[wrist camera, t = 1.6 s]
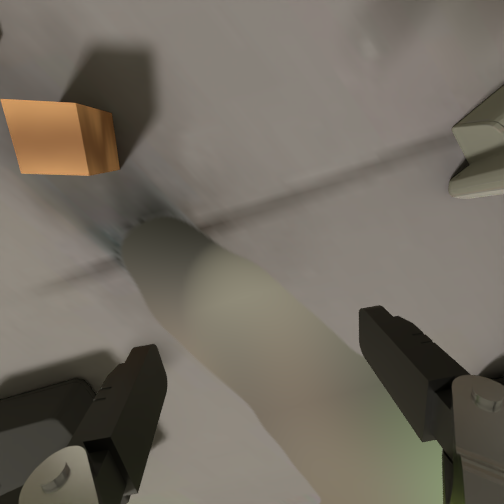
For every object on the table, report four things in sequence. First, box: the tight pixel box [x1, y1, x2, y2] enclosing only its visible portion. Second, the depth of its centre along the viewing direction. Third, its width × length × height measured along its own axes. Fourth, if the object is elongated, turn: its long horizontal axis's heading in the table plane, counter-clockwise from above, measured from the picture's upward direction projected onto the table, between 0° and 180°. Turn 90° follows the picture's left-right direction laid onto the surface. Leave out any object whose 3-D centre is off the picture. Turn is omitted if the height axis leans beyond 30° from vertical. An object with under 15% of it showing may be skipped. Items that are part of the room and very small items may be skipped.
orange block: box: [1, 99, 120, 176], centre depth 22 cm, size 5×5×6 cm
